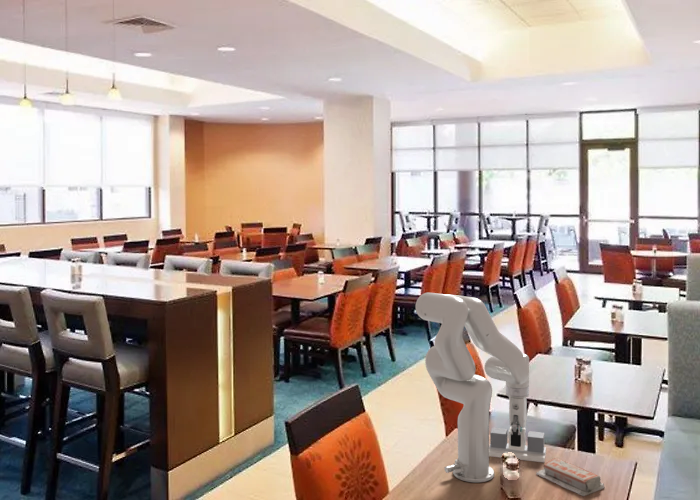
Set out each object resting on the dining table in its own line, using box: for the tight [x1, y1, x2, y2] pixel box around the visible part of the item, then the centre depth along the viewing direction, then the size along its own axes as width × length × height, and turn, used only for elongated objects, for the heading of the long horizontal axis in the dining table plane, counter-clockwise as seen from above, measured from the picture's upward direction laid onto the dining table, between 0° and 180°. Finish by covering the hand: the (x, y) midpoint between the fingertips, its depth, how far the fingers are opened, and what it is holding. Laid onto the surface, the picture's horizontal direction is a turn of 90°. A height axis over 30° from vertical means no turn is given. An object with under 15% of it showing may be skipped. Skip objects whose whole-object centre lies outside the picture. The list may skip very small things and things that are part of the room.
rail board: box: [489, 426, 547, 463], centre depth 221 cm, size 18×9×7 cm, turn 70°
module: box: [508, 425, 527, 451], centre depth 221 cm, size 5×5×7 cm
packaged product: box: [535, 457, 605, 497], centre depth 200 cm, size 18×5×10 cm
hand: (517, 440), depth 221 cm, fingers open, 9 cm apart
